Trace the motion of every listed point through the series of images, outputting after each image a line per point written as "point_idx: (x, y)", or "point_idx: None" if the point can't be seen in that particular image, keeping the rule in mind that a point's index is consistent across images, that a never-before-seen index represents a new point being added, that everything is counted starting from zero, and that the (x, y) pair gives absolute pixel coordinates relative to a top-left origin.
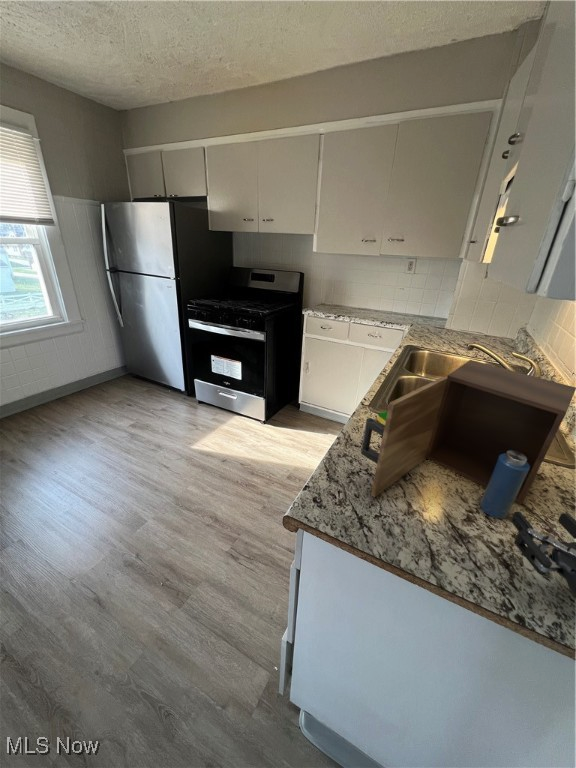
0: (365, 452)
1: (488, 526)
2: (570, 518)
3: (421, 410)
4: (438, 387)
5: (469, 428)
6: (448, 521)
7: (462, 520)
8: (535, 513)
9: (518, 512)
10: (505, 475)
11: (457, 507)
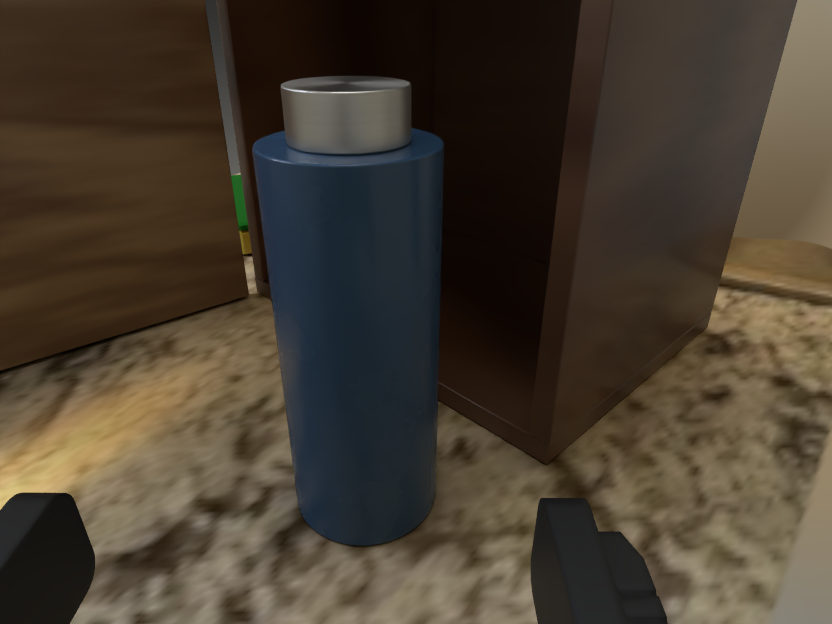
0: None
1: (236, 599)
2: (579, 558)
3: None
4: None
5: (474, 181)
6: None
7: (106, 562)
8: (602, 508)
9: (21, 501)
10: (272, 238)
11: (165, 485)
